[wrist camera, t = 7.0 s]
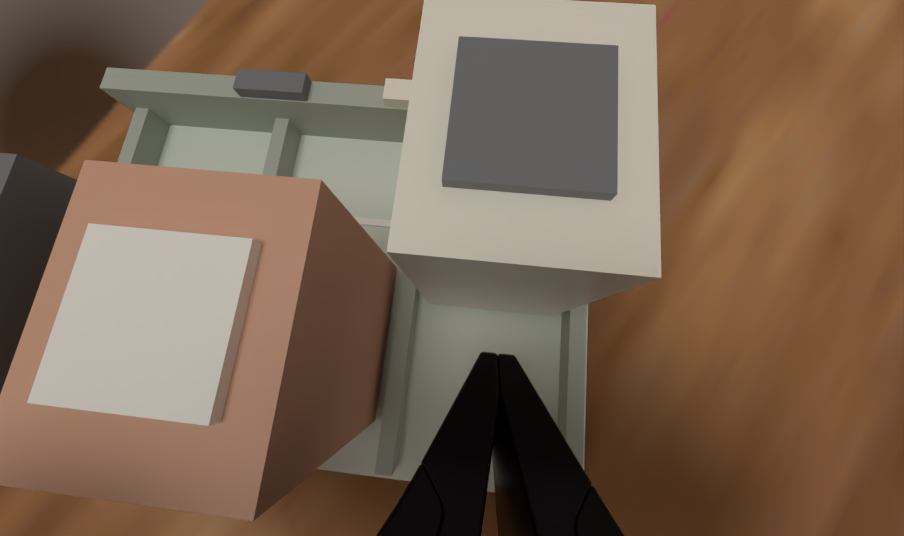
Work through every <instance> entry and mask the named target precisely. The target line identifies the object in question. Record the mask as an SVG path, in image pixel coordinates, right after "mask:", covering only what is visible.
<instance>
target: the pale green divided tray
mask: <svg viewBox="0 0 904 536" xmlns="http://www.w3.org/2000/svg"><path fill="white" fill-rule="evenodd" d="M411 85H412V80H404V79H389V78H386V80H385V86H375V85H360V84H345V83H330V82H315V81H310V79H309V77H308V76H307V74H306V73H297V72H282V71H267V70H252V69H238V70H237V74H236V76H226V75H211V74H196V73H181V72H166V71H151V70H137V69H121V68H107V69H106V72H105V75H104V77H103V80H102V83H101V85H100V89H102V90H103V91H105V92H106V93H107V94H109V95H110V96H112V97H113V98H114V99H116V100H117V101H119V102H120V103H122V104H123V105H124V106H126V107H127V108H129V109H130V110H131V111H133V112H134V115H133V118H132V121H131V124H130V127H129V130H128V133H127V136H126V138H125V141H124V144H123V147H122V150H121V153H120V156H119V159H118V162H117V163H128V164H140V165H152V166H164V167H176V168H188V169H200V170H212V171H224V172H236V173H248V174H260V175H272V176H284V177H296V178H308V179H320V180H322V181H323V182H324V183H325V184H326V186H327V187H328V188H329V189H330V190H331V191H332V193H333V194H334V195H335V196H336V197H337V198H338V200H339V201H340V202H341V203H342V204H343V205H344V207H345V208H346V209H347V210H348V211H349V212H350V214H351V215H352V216H353V217H354V218H355V219H356V221H357V222H358V223H359V224H360V225H361V226H362V228H363V229H364V230H365V231H366V232H367V233H368V235H369V236H370V237H371V238H372V239H373V240H374V242H375V243H376V244H377V245H378V246H379V247H380V249H381V250H382V251H383V252H384V253H385V254H386V256H387V257H388V258H389V259H390V260H391V261H392V263H393V264H394V265H395V266H396V267H397V271H396V279H395V286H394V293H393V300H392V307H391V314H390V321H389V328H388V335H387V342H386V349H385V356H384V363H383V370H382V377H381V384H380V391H379V398H378V405H377V412H376V419H375V421H374V422H373V423H372V424H370V425H369V426H368V427H367V428H366V429H364V430H363V431H362V432H361V433H360V434H358V435H357V436H356V437H355V438H353V439H352V440H351V441H350V442H349V443H347V444H346V445H345V446H344V447H343V448H341V449H340V450H339V451H338V452H336V453H335V454H334V455H333V456H332V457H330V458H329V459H328V460H327V461H326V462H324V463H323V464H322V465H321V466H319V467H318V468H317V469H319V470H327V471H335V472H342V473H350V474H358V475H365V476H373V477H380V478H388V479H396V480H403V481H411V480H412V478H413V476H414V474H415V472H416V470H417V468H418V467H419V465H421V462H422V460H423V458H424V456H425V454H426V452H427V450H428V449H429V447H430V445H431V443H432V441H433V439H434V437H435V436H436V434H437V432H438V430H439V428H440V426H441V425H442V423H443V421H444V419H445V417H446V415H447V413H448V412H449V410H450V408H451V406H452V404H453V402H454V401H455V399H456V397H457V395H458V393H459V391H460V389H461V388H462V386H463V384H464V382H465V380H466V378H467V376H468V375H469V373H470V371H471V369H472V367H473V365H474V364H475V362H476V360H477V358H478V356H479V354H480V353H481V352H492V353H496V354H497V356H498V354H511V355H514V356H515V357H516V358H517V360H518V361H519V363H520V365H521V366H522V368H523V370H524V371H525V373H526V375H527V376H528V378H529V380H530V381H531V383H532V385H533V386H534V388H535V390H536V391H537V393H538V395H539V396H540V398H541V400H542V401H543V403H544V405H545V406H546V408H547V410H548V411H549V413H550V415H551V416H552V418H553V420H554V421H555V423H556V425H557V426H558V428H559V430H560V431H561V433H562V435H563V436H564V438H565V440H566V441H567V443H568V445H569V446H570V448H571V450H572V451H573V453H574V455H575V456H576V458H577V460H578V461H579V463H580V465H581V466H582V468H583V470H584V461H585V419H586V376H587V334H588V304H585V305H582V306H580V307H577V308H574V309H571V310H568V311H565V312H562V313H560V314H557V315H554V316H549V315H539V314H529V313H519V312H509V311H500V310H490V309H480V308H470V307H460V306H451V305H441V304H431V303H428V302H427V301H426V299H425V298H424V297H423V296H422V294H421V293H420V292H419V291H418V290H417V288H416V287H415V286H414V285H413V284H412V282H411V281H410V280H409V279H408V278H407V276H406V275H405V274H404V273H403V271H402V270H401V269H400V268H399V267H398V265H397V264H396V263H395V262H394V261H393V259H392V258H391V257H390V256H389V254H388V253H387V252H386V251H387V245H388V238H389V231H390V225H391V218H392V211H393V205H394V198H395V191H396V185H397V178H398V172H399V165H400V158H401V152H402V145H403V138H404V132H405V125H406V118H407V112H408V105H409V98H410V92H411ZM487 492H495V486H494V474H493V462H492V458H491V466H490V473H489V480H488V488H487Z"/></svg>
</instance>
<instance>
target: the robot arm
mask: <svg viewBox="0 0 904 536" xmlns="http://www.w3.org/2000/svg"><path fill="white" fill-rule="evenodd" d="M491 458H492V462H493V474H494V486H495V498H496V510H497V523H498V535H499V536H624V535H623V533H622V532H621V530H620V528H619V527H618V525H617V524H616V522H615V520H614V519H613V517H612V516H611V514H610V513H609V511H608V509H607V508H606V506H605V505H604V503H603V501H602V500H601V498H600V496H599V495H598V493H597V491H596V489H595V488H594V487H593V486H591V481H590V480H589V478H588V476H587V475H586V473H585V471H584V470H583V468H582V466H581V465H580V463H579V461H578V460H577V458H576V456H575V455H574V453H573V451H572V450H571V448H570V446H569V445H568V443H567V441H566V440H565V438H564V436H563V435H562V433H561V431H560V430H559V428H558V426H557V425H556V423H555V421H554V420H553V418H552V416H551V415H550V413H549V411H548V410H547V408H546V406H545V405H544V403H543V401H542V400H541V398H540V396H539V395H538V393H537V391H536V390H535V388H534V386H533V385H532V383H531V381H530V380H529V378H528V376H527V375H526V373H525V371H524V370H523V368H522V366H521V365H520V363H519V361H518V360H517V358H516V357H515V356H514V355H511V354H498V356H497V354H496V353H492V352H481V353H480V354H479V356H478V358H477V360H476V362H475V364H474V365H473V367H472V369H471V371H470V373H469V375H468V376H467V378H466V380H465V382H464V384H463V386H462V388H461V389H460V391H459V393H458V395H457V397H456V399H455V401H454V402H453V404H452V406H451V408H450V410H449V412H448V413H447V415H446V417H445V419H444V421H443V423H442V425H441V426H440V428H439V430H438V432H437V434H436V436H435V437H434V439H433V441H432V443H431V445H430V447H429V449H428V450H427V452H426V454H425V456H424V458H423V460H422V462H421V465H419V467H418V468H417V470H416V472H415V474H414V476H413V478H412V480H411V481H410V483H409V485H408V486H407V488H406V490H405V492H404V493H403V495H402V497H401V498H400V500H399V502H398V504H397V505H396V507H395V508H394V510H393V511H392V513H391V514H390V516H389V517H388V519H387V520H386V522H385V523H384V525H383V526H382V528H381V529H380V531H379V532H378V534H377V535H376V536H481V532H482V525H483V517H484V510H485V503H486V495H487V488H488V480H489V473H490V466H491ZM590 486H591V487H590Z"/></svg>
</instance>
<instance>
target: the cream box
mask: <svg viewBox="0 0 904 536" xmlns="http://www.w3.org/2000/svg"><path fill="white" fill-rule="evenodd" d="M386 252H387V253H388V254H389V256H390V257H391V258H392V259H393V261H394V262H395V263H396V264H397V265H398V267H399V268H400V269H401V270H402V271H403V273H404V274H405V275H406V276H407V278H408V279H409V280H410V281H411V282H412V284H413V285H414V286H415V287H416V288H417V290H418V291H419V292H420V293H421V294H422V296H423V297H424V298H425V299H426V301H427V302H428V303H431V304H441V305H451V306H460V307H470V308H480V309H490V310H500V311H509V312H519V313H529V314H539V315H549V316H554V315H557V314H560V313H562V312H565V311H568V310H571V309H574V308H577V307H580V306H582V305H585V304H588V303H591V302H594V301H597V300H599V299H602V298H605V297H608V296H611V295H614V294H617V293H619V292H622V291H625V290H628V289H631V288H634V287H637V286H639V285H642V284H645V283H648V282H651V281H654V280H656V279H659V278H661V242H660V194H659V146H658V98H657V50H656V5H647V4H628V3H608V2H589V1H570V0H424V5H423V12H422V18H421V25H420V32H419V38H418V45H417V52H416V58H415V65H414V72H413V78H412V85H411V92H410V98H409V105H408V112H407V118H406V125H405V132H404V138H403V145H402V152H401V158H400V165H399V172H398V178H397V185H396V191H395V198H394V205H393V211H392V218H391V225H390V231H389V238H388V245H387V251H386Z"/></svg>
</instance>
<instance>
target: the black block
mask: <svg viewBox="0 0 904 536" xmlns="http://www.w3.org/2000/svg"><path fill="white" fill-rule="evenodd" d="M76 182H77V180H75V179H73V178H71V177H68V176H66V175H64V174H61V173H59V172H57V171H54V170H52V169H49V168H48V167H45V166H43V165H41V164H38V163H36V162H34V161H31V160H29V159H27V158H24V157H22V156H20V155H17V154H6V153H0V394H1V391H2V388H3V386H4V383H5V380H6V377H7V374H8V372H9V369H10V366H11V363H12V361H13V358H14V355H15V352H16V349H17V347H18V344H19V341H20V338H21V335H22V333H23V330H24V327H25V324H26V322H27V319H28V316H29V313H30V310H31V308H32V305H33V302H34V299H35V297H36V294H37V291H38V288H39V285H40V283H41V280H42V277H43V274H44V271H45V269H46V266H47V263H48V260H49V258H50V255H51V252H52V249H53V246H54V244H55V241H56V238H57V235H58V232H59V230H60V227H61V224H62V221H63V219H64V216H65V213H66V210H67V207H68V205H69V202H70V199H71V196H72V194H73V191H74V188H75V185H76Z"/></svg>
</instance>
